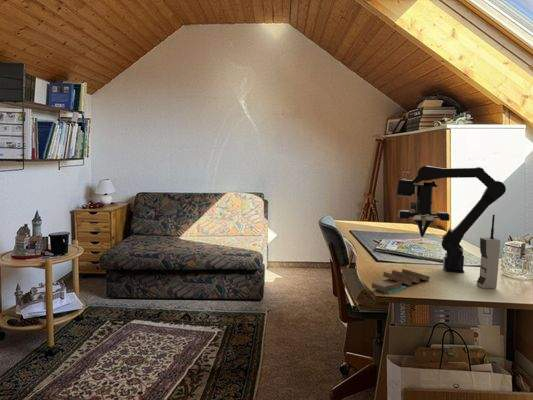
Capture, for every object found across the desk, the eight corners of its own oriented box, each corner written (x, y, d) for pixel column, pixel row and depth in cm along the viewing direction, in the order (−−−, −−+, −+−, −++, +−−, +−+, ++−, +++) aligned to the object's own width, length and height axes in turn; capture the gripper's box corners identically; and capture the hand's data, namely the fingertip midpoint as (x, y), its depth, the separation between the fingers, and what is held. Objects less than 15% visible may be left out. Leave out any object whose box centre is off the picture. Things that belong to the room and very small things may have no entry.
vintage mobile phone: (476, 285, 148) (481, 213, 145) (489, 285, 148) (495, 213, 146) (482, 288, 144) (488, 215, 142) (496, 288, 145) (502, 215, 142)
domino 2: (401, 277, 150) (384, 271, 145) (412, 281, 145) (395, 275, 141) (399, 282, 149) (382, 276, 145) (411, 285, 145) (394, 279, 141)
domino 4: (408, 275, 153) (392, 269, 148) (420, 279, 148) (404, 273, 143) (407, 279, 152) (391, 274, 148) (418, 283, 148) (403, 278, 143)
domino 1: (389, 278, 145) (371, 282, 139) (401, 282, 141) (384, 286, 135) (389, 283, 145) (371, 287, 139) (401, 287, 141) (384, 291, 135)
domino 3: (392, 282, 146) (376, 287, 140) (405, 286, 142) (388, 291, 136) (392, 287, 146) (375, 291, 140) (405, 291, 142) (388, 296, 137)
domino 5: (417, 273, 156) (402, 268, 151) (429, 276, 152) (414, 272, 147) (416, 277, 156) (401, 273, 151) (428, 281, 152) (413, 276, 147)
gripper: (444, 196, 175) (442, 234, 177) (397, 194, 179) (395, 231, 180) (451, 199, 164) (448, 239, 166) (400, 197, 168) (398, 236, 169)
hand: (421, 236), depth 171 cm, fingers closed
